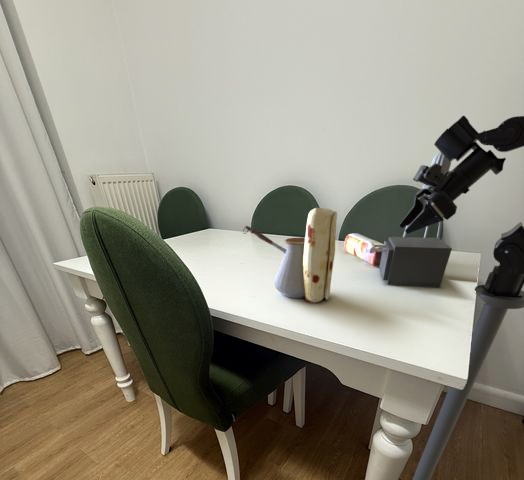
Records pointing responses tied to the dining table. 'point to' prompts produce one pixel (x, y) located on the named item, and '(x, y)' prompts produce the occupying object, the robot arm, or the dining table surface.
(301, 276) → the coffee pot
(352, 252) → the snack package
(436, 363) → the dining table surface
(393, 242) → the dark grey box
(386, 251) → the grey drawer
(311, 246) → the food model
